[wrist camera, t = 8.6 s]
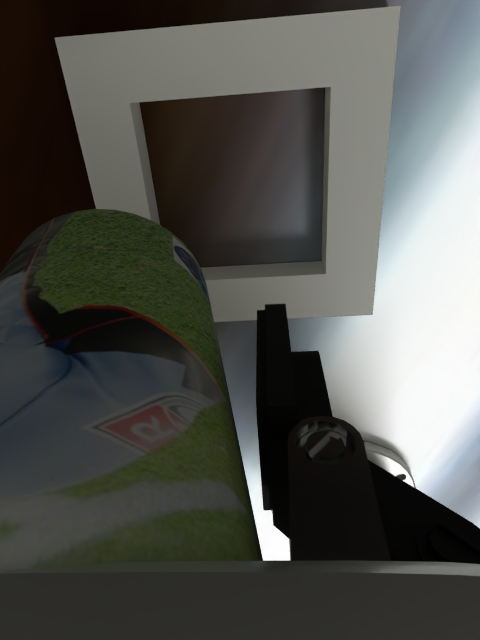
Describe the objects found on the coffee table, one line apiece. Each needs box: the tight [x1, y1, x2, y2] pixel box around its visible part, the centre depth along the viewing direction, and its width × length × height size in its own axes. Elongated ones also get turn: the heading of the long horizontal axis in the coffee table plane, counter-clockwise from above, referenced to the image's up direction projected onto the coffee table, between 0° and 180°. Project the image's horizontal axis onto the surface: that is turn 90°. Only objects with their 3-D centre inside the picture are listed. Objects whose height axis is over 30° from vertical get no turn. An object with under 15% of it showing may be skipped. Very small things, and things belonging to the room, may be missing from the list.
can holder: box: [55, 6, 400, 322], centre depth 25 cm, size 16×16×2 cm
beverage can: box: [0, 209, 263, 571], centre depth 10 cm, size 6×7×12 cm
